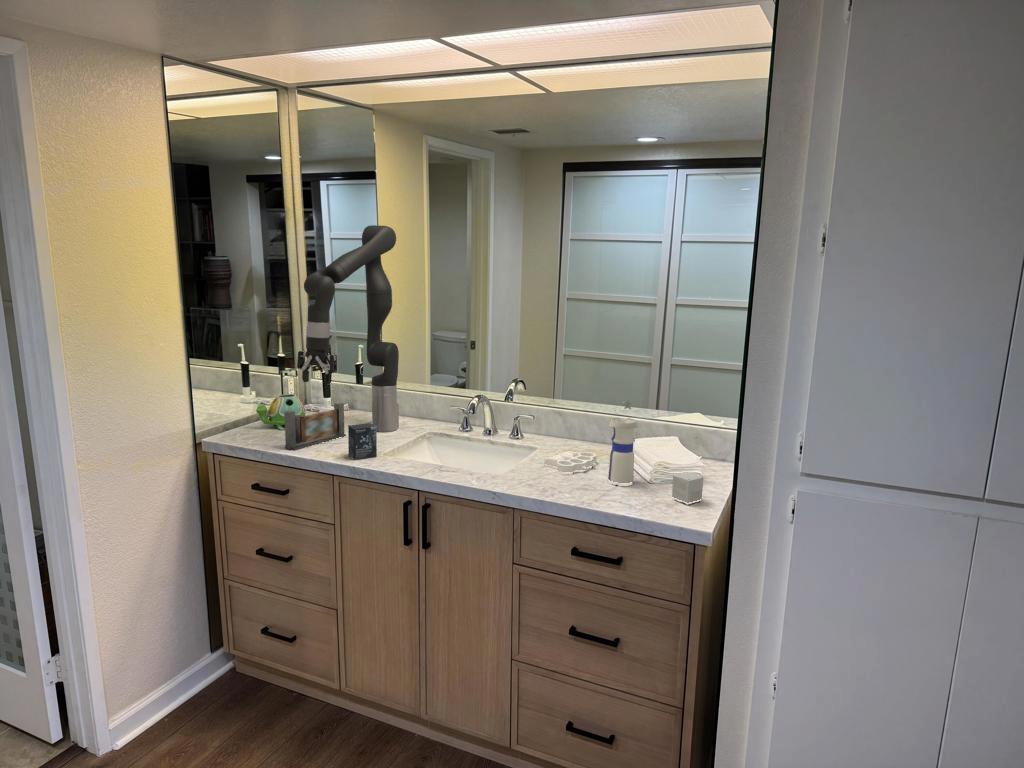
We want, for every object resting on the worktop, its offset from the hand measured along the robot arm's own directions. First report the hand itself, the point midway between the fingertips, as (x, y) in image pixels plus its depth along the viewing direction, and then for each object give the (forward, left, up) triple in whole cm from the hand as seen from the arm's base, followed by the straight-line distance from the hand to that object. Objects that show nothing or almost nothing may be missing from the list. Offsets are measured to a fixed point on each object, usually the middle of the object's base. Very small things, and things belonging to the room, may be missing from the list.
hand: (316, 383), depth 238 cm
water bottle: (-30, +99, -22) cm, 106 cm away
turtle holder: (-10, -31, -22) cm, 39 cm away
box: (-1, +20, -22) cm, 30 cm away
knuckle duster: (-35, +80, -23) cm, 91 cm away
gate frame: (-3, -5, -22) cm, 23 cm away
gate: (-3, -5, -21) cm, 21 cm away
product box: (-27, +121, -22) cm, 126 cm away
